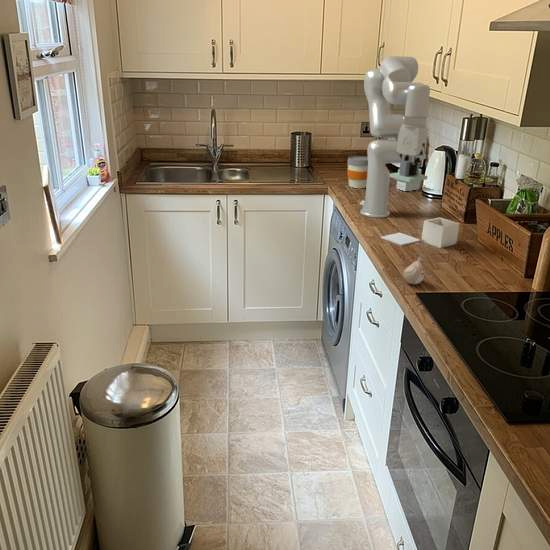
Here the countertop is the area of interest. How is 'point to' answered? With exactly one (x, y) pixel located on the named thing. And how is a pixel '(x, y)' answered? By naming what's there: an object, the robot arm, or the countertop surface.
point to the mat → (400, 239)
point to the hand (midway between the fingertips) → (408, 173)
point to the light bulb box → (406, 186)
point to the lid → (407, 173)
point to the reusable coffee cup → (357, 171)
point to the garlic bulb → (414, 272)
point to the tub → (440, 232)
